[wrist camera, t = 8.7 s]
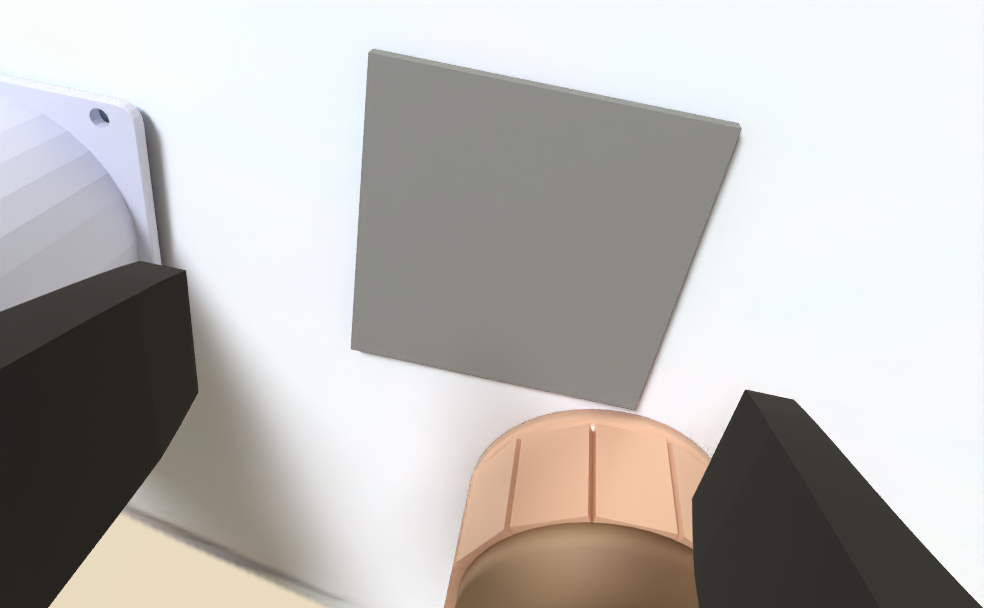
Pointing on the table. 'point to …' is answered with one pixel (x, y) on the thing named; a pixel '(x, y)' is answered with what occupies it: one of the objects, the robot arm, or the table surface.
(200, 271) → the table surface
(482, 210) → the mat
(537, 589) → the lid
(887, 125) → the table surface
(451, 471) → the table surface
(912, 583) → the robot arm
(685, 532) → the peach cylinder
